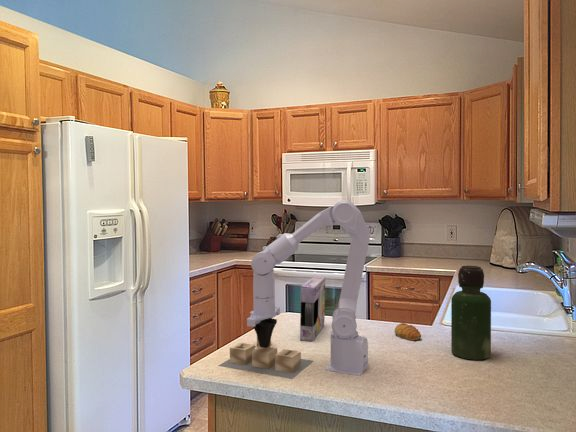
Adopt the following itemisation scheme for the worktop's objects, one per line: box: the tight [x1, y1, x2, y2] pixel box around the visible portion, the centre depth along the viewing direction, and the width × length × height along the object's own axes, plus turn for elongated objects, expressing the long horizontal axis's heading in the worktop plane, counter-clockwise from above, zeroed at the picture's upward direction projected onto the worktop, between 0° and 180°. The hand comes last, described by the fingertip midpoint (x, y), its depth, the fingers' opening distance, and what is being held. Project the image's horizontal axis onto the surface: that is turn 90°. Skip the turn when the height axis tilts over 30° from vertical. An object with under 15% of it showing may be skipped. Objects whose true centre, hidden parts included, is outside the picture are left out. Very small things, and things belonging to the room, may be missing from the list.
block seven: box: [229, 342, 256, 365], centre depth 127 cm, size 5×5×4 cm
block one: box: [275, 348, 302, 373], centre depth 121 cm, size 5×5×4 cm
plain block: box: [252, 346, 278, 369], centre depth 124 cm, size 5×5×4 cm
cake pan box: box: [299, 276, 326, 342], centre depth 154 cm, size 19×5×18 cm, turn 164°
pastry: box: [394, 322, 422, 341], centre depth 149 cm, size 9×7×4 cm
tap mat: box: [217, 358, 315, 380], centre depth 125 cm, size 22×14×1 cm, turn 64°
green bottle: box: [450, 265, 492, 361], centre depth 131 cm, size 10×10×25 cm
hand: (264, 346), depth 124 cm, fingers closed
